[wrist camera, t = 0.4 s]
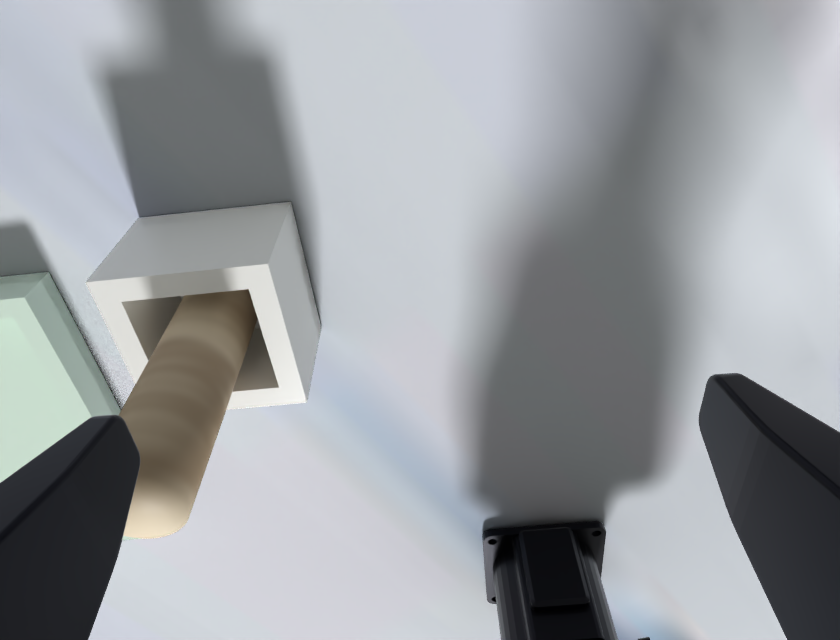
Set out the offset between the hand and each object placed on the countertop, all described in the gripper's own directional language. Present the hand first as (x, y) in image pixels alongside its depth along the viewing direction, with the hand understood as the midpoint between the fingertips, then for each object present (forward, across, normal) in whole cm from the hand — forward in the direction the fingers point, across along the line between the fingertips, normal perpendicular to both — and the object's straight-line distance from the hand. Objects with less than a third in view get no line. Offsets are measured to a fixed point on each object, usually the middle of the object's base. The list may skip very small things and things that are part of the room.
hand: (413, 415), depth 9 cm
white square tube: (+14, +7, +5) cm, 16 cm away
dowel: (+13, +7, +5) cm, 15 cm away
